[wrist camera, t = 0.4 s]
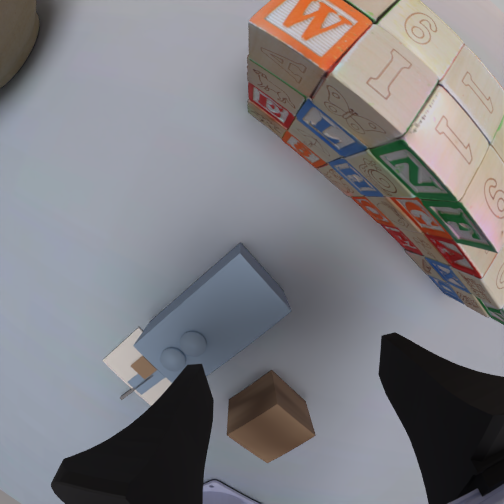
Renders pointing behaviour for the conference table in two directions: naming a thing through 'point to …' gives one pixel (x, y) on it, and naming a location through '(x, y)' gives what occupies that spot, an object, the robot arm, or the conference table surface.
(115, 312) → the conference table surface
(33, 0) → the planter bowl
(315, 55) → the stack of blocks
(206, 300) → the base brick
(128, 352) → the page
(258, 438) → the walnut brick
